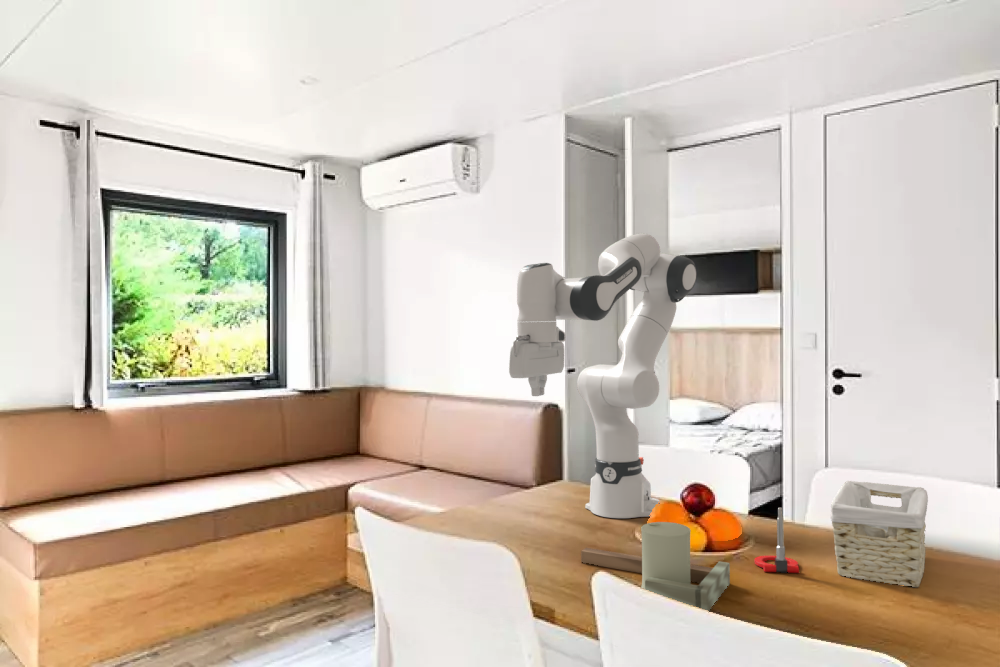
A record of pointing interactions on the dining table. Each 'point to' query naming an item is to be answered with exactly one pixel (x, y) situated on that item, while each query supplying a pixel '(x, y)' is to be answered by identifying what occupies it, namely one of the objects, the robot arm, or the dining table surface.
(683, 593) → the rail stop
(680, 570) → the can
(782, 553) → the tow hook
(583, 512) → the dining table surface
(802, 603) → the dining table surface
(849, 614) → the dining table surface
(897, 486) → the storage basket
